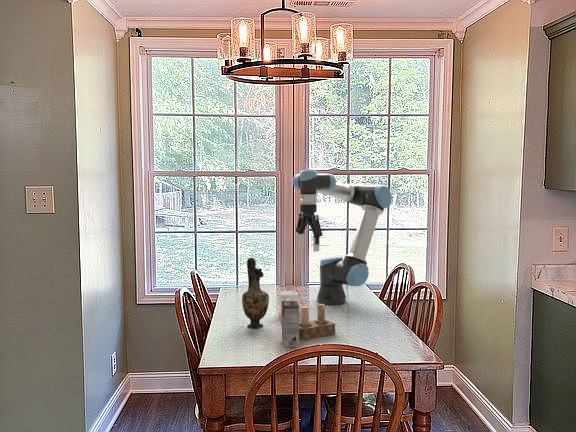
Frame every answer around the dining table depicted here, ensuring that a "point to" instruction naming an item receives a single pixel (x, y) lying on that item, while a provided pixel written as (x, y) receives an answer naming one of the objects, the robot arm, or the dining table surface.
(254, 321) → the vase
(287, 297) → the mug
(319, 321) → the oak peg
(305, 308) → the terracotta peg
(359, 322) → the dining table surface
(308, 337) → the hole block
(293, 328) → the coffee box
